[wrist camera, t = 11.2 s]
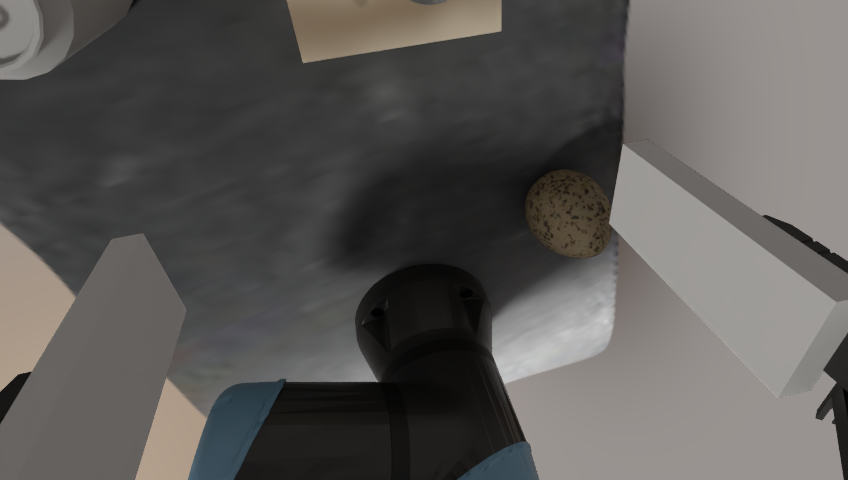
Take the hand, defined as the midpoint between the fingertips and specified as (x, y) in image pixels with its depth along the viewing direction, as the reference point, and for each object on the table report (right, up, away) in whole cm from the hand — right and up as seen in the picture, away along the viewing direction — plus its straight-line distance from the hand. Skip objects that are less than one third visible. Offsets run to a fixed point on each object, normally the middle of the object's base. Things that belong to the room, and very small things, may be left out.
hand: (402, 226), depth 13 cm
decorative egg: (+13, +5, +32) cm, 35 cm away
